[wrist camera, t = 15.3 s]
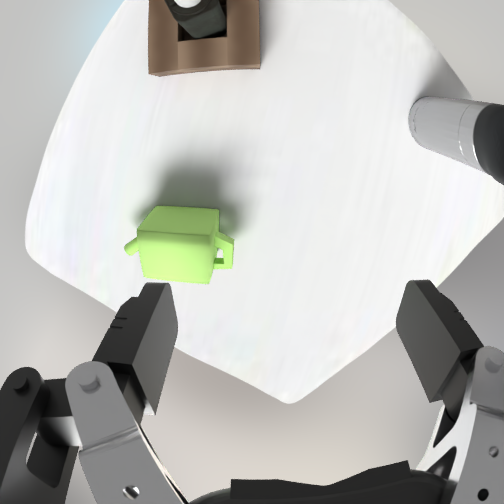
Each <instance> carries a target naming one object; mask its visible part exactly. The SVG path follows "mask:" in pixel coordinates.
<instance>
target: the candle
mask: <svg viewBox="0 0 504 504" xmlns="http://www.w3.org/2000/svg"><path fill="white" fill-rule="evenodd" d="M164 1H165V3H166V5H167V6H168V8H169V10H170V12H171V14H172V16H173V18H174V19H175V20H176V21H177V22H178V23H179V24H180V25H181V26H182V27H183V28H184V29H185V30H186V31H187V32H188V33H189V34H190V35H191V36H192V37H193V38H194V39H195V40H197V39H207V38H217V37H219V36H221V35H224V34H225V33H226V32H227V22H226V19H225V16H224V14H223V11H222V8H221V6H220V3H219V0H164Z"/></svg>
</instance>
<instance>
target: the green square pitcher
mask: <svg viewBox="0 0 504 504" xmlns="http://www.w3.org/2000/svg"><path fill="white" fill-rule="evenodd" d="M217 248H220V249H222V250H223V257H224V258H216V256H217ZM124 249H125V252H126V253H127V254H128V255H133V254H135V253H136V252H137V251H139V255H140V261H141V266H142V270H143V275H144V277H146V278H152V279H159V280H167V281H176V282H187V283H200V284H209V282H210V279H211V276H212V272H213V269H232V265H233V250H234V239H232V238H230V237H228V236H226V235H224V234H222V233H220V232H219V210H218V209H207V208H194V207H177V206H156V207H155V208H154V209H153V210H152V211H151V212H150V213H149V215H148V216H147V217H146V218H145V219H144V221H143V222H142V223H141V224H140V226H139V227H138V229H137V237H136V238H134V239H133V240H132V241H130V242H129V243H127V244H126V245H125V246H124Z"/></svg>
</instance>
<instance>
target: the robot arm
mask: <svg viewBox="0 0 504 504" xmlns="http://www.w3.org/2000/svg"><path fill="white" fill-rule="evenodd" d="M409 127H410V131H411V134H412V136H413V138H414V139H415V141H416V142H417V143H418V144H419V145H421V146H422V147H424V148H426V149H429V150H432V151H434V152H437V153H439V154H442V155H444V156H447V157H450V158H452V159H454V160H457V161H459V162H462V163H464V164H466V165H469V166H471V167H473V168H476V169H478V170H480V171H482V172H485V173H487V174H489V175H491V176H492V177H493V178H494V179H495V180H496V181H498V182H499V183H501V184H503V185H504V105H500V104H494V103H487V102H479V101H471V100H462V99H452V98H440V97H424V98H421V99H419V100H417V101H416V102H415V103H414V105H413V106H412V108H411V111H410V114H409ZM458 311H459V310H458V309H457V307H456V306H455V305H454V303H453V302H452V301H451V300H450V299H448V298H447V297H446V296H444V295H443V294H442V293H440V292H439V291H438V290H437V288H436V287H435V286H434V285H433V283H432V282H431V281H430V280H411V281H409V282H408V283H407V285H406V287H405V291H404V294H403V298H402V301H401V304H400V307H399V311H398V314H397V318H396V328H397V332H398V334H399V336H400V338H401V340H402V342H403V344H404V347H405V349H406V351H407V353H408V355H409V357H410V359H411V361H412V363H413V366H414V368H415V370H416V372H417V375H418V377H419V379H420V381H421V383H422V386H423V388H424V390H425V393H426V395H427V398H428V400H429V402H430V403H431V402H434V401H438V400H443V402H444V405H443V406H442V407H441V410H440V412H439V415H438V419H437V422H436V425H435V428H434V431H433V434H432V437H431V439H430V443H429V445H428V448H427V450H426V453H425V455H424V457H423V458H422V460H421V461H420V463H419V464H418V466H417V467H416V469H415V470H412V469H410V467H409V464H408V461H407V460H406V461H402V462H399V463H394V464H390V465H386V466H382V467H377V468H372V469H368V470H366V471H363V472H361V473H359V474H356V475H354V476H352V477H349V478H347V479H344V480H342V481H339V482H336V483H334V484H331V485H327V486H320V485H311V484H303V483H297V482H291V481H284V480H278V479H272V480H241V479H231V488H228V489H222V490H219V491H215V492H211V493H209V494H206V495H204V496H201V497H199V498H197V499H195V500H193V501H191V502H190V503H189V501H188V500H187V498H186V497H185V496H184V494H183V493H182V491H181V490H180V488H179V487H178V486H177V484H176V483H175V481H174V480H173V478H172V477H171V475H170V474H169V472H168V471H167V470H166V468H165V466H164V465H163V463H162V461H161V460H160V458H159V456H158V455H157V453H156V451H155V450H154V448H153V447H152V444H151V442H150V441H149V439H148V437H147V435H146V433H145V432H144V430H143V428H142V426H141V421H142V417H143V414H149V415H156V411H157V407H158V403H159V399H160V395H161V391H162V388H163V384H164V381H165V377H166V373H167V369H168V366H169V362H170V359H171V355H172V352H173V349H174V345H175V342H176V338H177V333H178V322H177V316H176V311H175V306H174V301H173V296H172V290H171V286H170V284H169V283H146V284H145V285H144V287H143V289H142V291H141V293H140V294H139V296H138V297H131V298H130V299H129V300H128V301H126V302H125V303H124V304H123V305H122V306H121V307H120V309H119V310H118V312H117V314H116V316H115V319H114V320H113V321H112V323H111V325H110V328H109V329H108V331H107V333H106V334H105V336H104V338H103V340H102V342H101V344H100V346H99V348H98V350H97V352H96V354H95V355H94V358H93V360H92V361H90V362H85V363H83V364H80V365H78V366H77V367H75V368H74V369H73V370H72V371H71V372H70V373H69V375H68V376H67V378H63V379H51V380H43V379H42V377H41V375H40V374H39V373H38V371H37V370H36V369H34V368H30V367H23V368H19V369H17V370H15V371H14V372H12V373H11V374H10V375H9V376H8V377H7V379H6V381H5V382H4V384H3V386H2V388H1V390H0V504H65V500H66V495H67V491H68V487H69V483H70V479H71V475H72V470H73V467H74V463H75V460H76V456H77V453H78V449H79V446H82V447H83V450H80V451H79V459H80V463H81V466H82V469H83V471H84V474H85V476H86V479H87V481H88V484H89V486H90V488H91V491H92V493H93V495H94V498H95V500H96V502H97V504H504V353H503V352H502V351H501V350H499V349H497V348H494V347H491V346H486V347H484V346H483V344H482V343H481V341H480V340H479V338H478V337H477V335H476V334H475V332H474V331H473V330H472V328H471V327H470V325H469V324H468V323H467V321H466V320H464V317H463V316H462V314H461V313H460V312H458ZM35 432H36V433H37V436H36V439H35V442H34V445H33V447H32V450H31V453H30V456H29V459H28V462H27V465H26V456H27V453H28V450H29V447H30V444H31V442H32V439H33V436H34V434H35Z"/></svg>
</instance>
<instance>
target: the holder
mask: <svg viewBox="0 0 504 504" xmlns="http://www.w3.org/2000/svg"><path fill="white" fill-rule="evenodd" d="M219 3H220V6H221V8H222V11H223V14H224V16H225V19H226V22H227V32H226V33H225V34H224V35H221V36H219V37H217V38H207V39H197V40H195V39H194V38H193V37H192V36H191V35H190V34H189V33H188V32H187V31H186V30H185V29H184V28H183V27H182V26H181V25H180V24H179V23H178V22H177V21H176V20H175V19H174V18H173V16H172V14H171V12H170V10H169V8H168V6H167V5H166V3H165V1H164V0H149V18H148V67H149V74H151V75H155V76H159V77H160V76H167V75H175V74H183V73H193V72H204V71H217V70H236V69H260V31H259V0H219Z"/></svg>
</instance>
